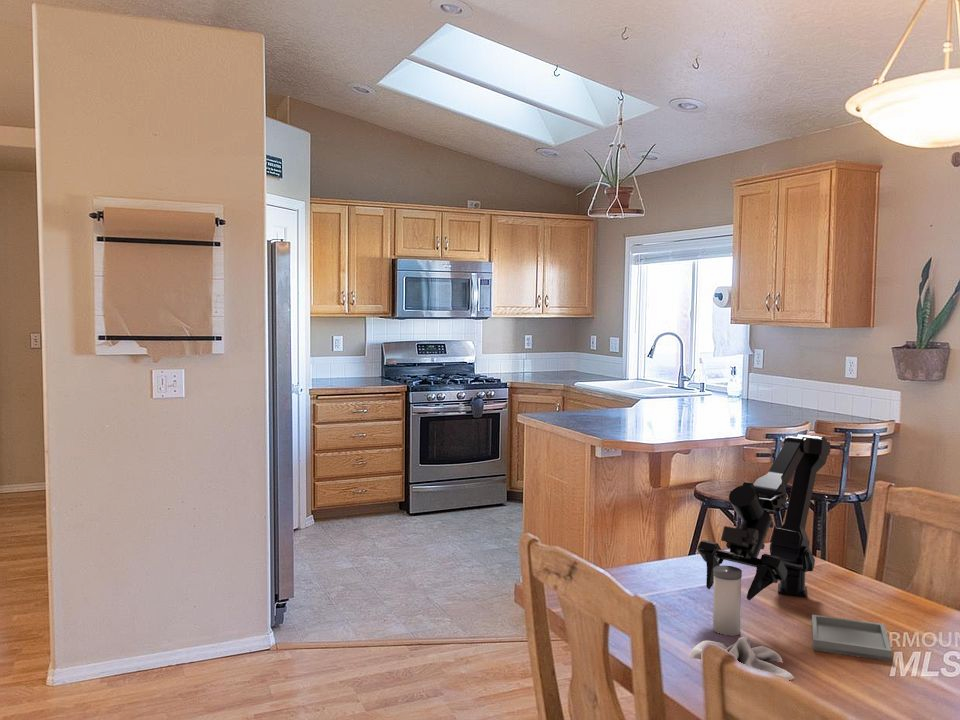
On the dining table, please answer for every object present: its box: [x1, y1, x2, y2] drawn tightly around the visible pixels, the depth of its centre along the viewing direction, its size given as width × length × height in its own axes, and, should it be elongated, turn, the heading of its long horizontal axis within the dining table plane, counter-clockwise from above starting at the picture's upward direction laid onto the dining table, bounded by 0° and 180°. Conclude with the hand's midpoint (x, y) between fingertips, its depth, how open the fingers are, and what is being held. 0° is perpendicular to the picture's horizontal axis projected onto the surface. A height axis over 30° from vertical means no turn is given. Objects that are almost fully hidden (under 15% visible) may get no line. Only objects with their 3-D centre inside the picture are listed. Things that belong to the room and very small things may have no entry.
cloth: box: [688, 635, 794, 682], centre depth 149 cm, size 22×19×6 cm
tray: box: [811, 614, 893, 663], centre depth 160 cm, size 14×14×2 cm
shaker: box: [712, 564, 743, 637], centre depth 166 cm, size 6×6×13 cm
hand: (727, 593), depth 166 cm, fingers open, 9 cm apart
